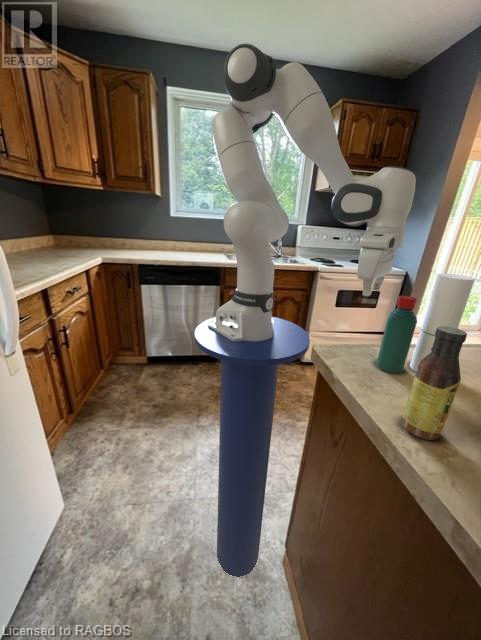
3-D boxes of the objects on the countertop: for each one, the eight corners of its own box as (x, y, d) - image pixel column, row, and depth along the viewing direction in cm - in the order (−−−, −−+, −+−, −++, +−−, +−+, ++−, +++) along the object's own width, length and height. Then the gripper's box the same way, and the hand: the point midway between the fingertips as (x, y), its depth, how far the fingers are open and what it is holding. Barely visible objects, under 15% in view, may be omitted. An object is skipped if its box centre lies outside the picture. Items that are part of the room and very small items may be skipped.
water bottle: (373, 367, 72) (390, 298, 66) (379, 358, 77) (395, 294, 70) (400, 376, 68) (420, 304, 62) (405, 366, 73) (424, 299, 66)
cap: (395, 306, 66) (397, 297, 66) (398, 303, 69) (400, 294, 68) (412, 310, 64) (415, 300, 63) (415, 307, 67) (418, 297, 66)
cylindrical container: (443, 380, 68) (478, 281, 59) (410, 371, 71) (439, 276, 62) (439, 367, 73) (471, 276, 65) (409, 360, 77) (435, 272, 68)
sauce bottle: (442, 447, 46) (482, 342, 40) (400, 433, 49) (432, 332, 42) (437, 424, 52) (472, 328, 45) (400, 413, 55) (428, 321, 48)
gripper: (380, 238, 78) (370, 285, 83) (357, 239, 63) (346, 296, 68) (405, 239, 74) (393, 288, 79) (387, 241, 59) (373, 302, 64)
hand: (371, 292), depth 73 cm, fingers open, 8 cm apart
